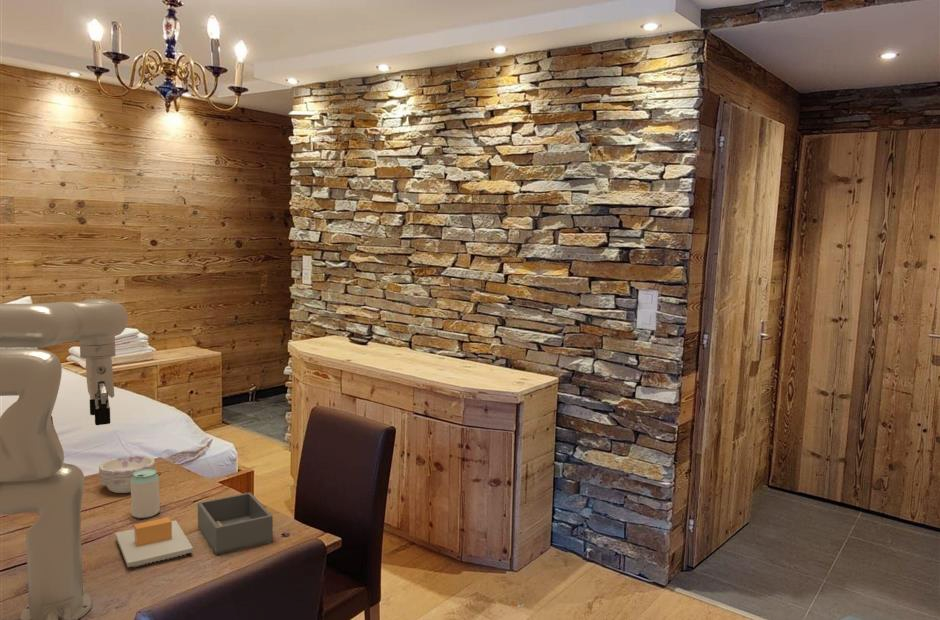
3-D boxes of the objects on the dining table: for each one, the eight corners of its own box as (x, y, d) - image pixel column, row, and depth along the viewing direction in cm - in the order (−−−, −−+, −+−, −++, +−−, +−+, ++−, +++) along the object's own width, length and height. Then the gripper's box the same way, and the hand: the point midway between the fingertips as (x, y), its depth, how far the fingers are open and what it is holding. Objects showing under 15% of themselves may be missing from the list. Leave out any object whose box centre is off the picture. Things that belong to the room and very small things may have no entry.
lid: (192, 555, 165) (192, 530, 164) (127, 571, 157) (127, 544, 156) (176, 527, 180) (175, 504, 179) (115, 540, 172) (114, 515, 171)
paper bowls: (148, 475, 216) (147, 451, 215) (161, 490, 205) (161, 464, 204) (94, 485, 206) (93, 460, 206) (105, 501, 195) (104, 475, 194)
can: (159, 517, 186) (158, 475, 184) (130, 521, 183) (129, 478, 182) (160, 507, 192) (159, 467, 191) (132, 510, 189) (131, 469, 188)
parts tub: (272, 541, 174) (272, 515, 173) (216, 555, 166) (216, 528, 165) (250, 516, 188) (250, 492, 188) (198, 527, 180) (197, 502, 179)
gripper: (120, 355, 159) (122, 426, 161) (110, 343, 173) (112, 409, 175) (84, 357, 154) (86, 430, 156) (76, 345, 168) (78, 412, 170)
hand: (100, 419), depth 165 cm, fingers open, 9 cm apart
